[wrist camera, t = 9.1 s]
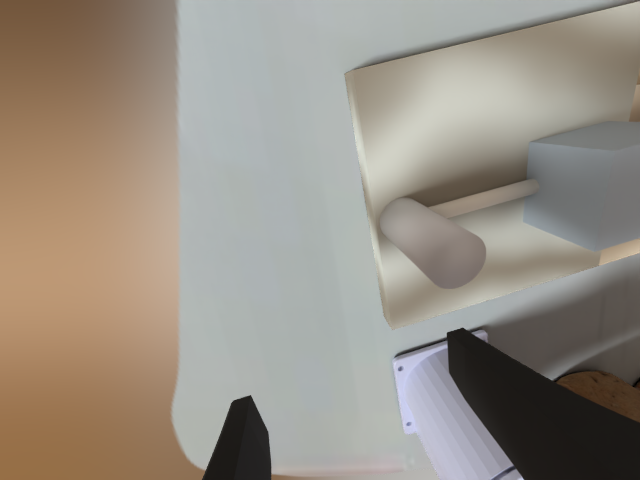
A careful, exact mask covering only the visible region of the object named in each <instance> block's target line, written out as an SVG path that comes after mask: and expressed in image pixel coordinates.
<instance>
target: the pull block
mask: <svg viewBox="0 0 640 480" xmlns="http://www.w3.org/2000/svg"><path fill="white" fill-rule="evenodd" d="M521 197H525V201H524V213H523V222H524V223H526V224H528V225H531V226H533V227H536V228H538V229H540V230H543V231H545V232H548V233H550V234H552V235H555V236H557V237H560V238H562V239H565V240H567V241H569V242H572V243H574V244H577V245H579V246H581V247H584V248H586V249H589V250H591V251H593V252H596V251H599V250H603V249H606V248H609V247H612V246H616V245H619V244H622V243H626V242H629V241H632V240H635V239H639V238H640V122H622V121H606V122H602V123H599V124H595V125H591V126H587V127H584V128H580V129H576V130H572V131H569V132H565V133H561V134H557V135H554V136H550V137H546V138H542V139H539V140H535V141H531V142H529V152H528V164H527V176H526V180H525V181H521V182H517V183H514V184H510V185H507V186H503V187H499V188H496V189H492V190H489V191H485V192H481V193H478V194H474V195H471V196H467V197H463V198H460V199H456V200H453V201H449V202H445V203H442V204H438V205H434V206H431V207H426V206H424V205H422V204H420V203H418V202H417V201H415V200H413V199H411V198H407V197H401V198H397V199H395V200H393V201H391V202H390V203H389V204H388V205H387V206H386V207H385V208H384V209H383V211H382V213H381V216H380V228H381V231H382V232H383V234H384V235H385V236H386V237H387V238H388V239H389V240H390V241H391V242H392V243H393V244H394V245H395V246H396V247H397V248H398V249H399V250H400V251H402V252H403V253H404V254H405V255H406V256H407V257H408V258H409V259H410V260H411V261H412V262H413V263H414V264H415V265H416V266H417V267H418V268H419V269H420V270H421V271H422V272H423V273H424V274H425V275H426V276H427V277H428V278H429V279H430V280H431V281H432V282H433V283H434V284H435V285H437V286H438V287H440V288H444V289H455V288H459V287H461V286H464V285H466V284H467V283H469V282H470V281H472V280H473V279H474V278H475V277H476V276H477V275H478V273H479V272H480V271H481V269H482V267H483V265H484V263H485V260H486V247H485V244H484V242H483V241H482V239H481V238H480V237H478V236H477V235H475V234H473V233H471V232H470V231H468V230H466V229H464V228H463V227H461V226H459V225H457V224H456V223H454V222H452V221H450V220H448V219H447V218H450V217H454V216H457V215H461V214H464V213H468V212H471V211H475V210H478V209H482V208H486V207H489V206H493V205H496V204H500V203H503V202H507V201H510V200H514V199H517V198H521Z"/></svg>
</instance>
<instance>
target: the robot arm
mask: <svg viewBox="0 0 640 480" xmlns="http://www.w3.org/2000/svg"><path fill="white" fill-rule="evenodd" d="M400 366H401V367H400ZM393 369H394V375H395V381H396V387H397V394H398V400H399V406H400V412H401V418H402V425H403V430H404V432H405V434H412V433H415V432H417V434H418V436H419V438H420V440H421V442H422V444H423V446H424V449H425V451H426V453H427V455H428V457H429V459H430V461H431V463H432V465H433V467H434V469H435V471H436V473H437V475H438V477H439V479H440V480H640V422H637V421H635V420H633V419H630V418H628V417H626V416H624V415H621V414H619V413H617V412H615V411H612V410H610V409H608V408H606V407H604V406H602V405H599V404H597V403H595V402H593V401H591V400H589V399H587V398H585V397H583V396H581V395H578V394H576V393H575V392H573V391H571V390H569V389H567V388H565V387H563V386H561V385H559V384H557V383H555V382H553V381H552V380H550V379H548V378H546V377H544V376H542V375H541V374H539V373H537V372H535V371H533V370H532V369H530V368H528V367H527V366H525V365H523V364H521V363H520V362H518V361H516V360H514V359H513V358H511V357H509V356H508V355H506V354H504V353H503V352H501V351H500V350H498V349H496V348H495V347H493V346H491V345H490V344H488V334H487V333H486V332H485V331H484V330H478V331H475V332H472V333H470V332H469V331H467V330H466V329H464V328H460V329H457V330H454V331H451V332H448V333H447V341H444V342H441V343H438V344H435V345H431V346H428V347H425V348H422V349H419V350H416V351H413V352H410V353H406V354H403V355H400V356H397V357H395V358H394V360H393ZM202 480H271V457H270V446H269V435H268V431H267V429H266V426H265V424H264V422H263V420H262V418H261V416H260V414H259V412H258V410H257V407H256V405H255V403H254V401H253V399H252V397H251V395H250V396H246V397H243V398H240V399H237V400H234V401H233V402H232V403H231V406H230V409H229V411H228V414H227V417H226V420H225V423H224V425H223V428H222V431H221V434H220V436H219V439H218V441H217V444H216V447H215V449H214V452H213V454H212V457H211V459H210V462H209V464H208V466H207V469H206V471H205V474H204V476H203V479H202Z"/></svg>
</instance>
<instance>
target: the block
mask: <svg viewBox="0 0 640 480" xmlns="http://www.w3.org/2000/svg"><path fill="white" fill-rule="evenodd" d="M555 383H557V384H559V385H561V386H563V387H565V388H567V389H569V390H571V391H573V392H575V393H576V394H578V395H581V396H583V397H585V398H587V399H589V400H591V401H593V402H595V403H597V404H599V405H602V406H604V407H606V408H608V409H610V410H612V411H615V412H617V413H619V414H621V415H624V416H626V417H628V418H630V419H633V420H635V421H637V422H640V391H639V390H637V389H636V388H634V387H632V386H631V385H629V384H628V383H626V382H624V381H623V380H621V379H620V378H618V377H616V376H614V375H613V374H610V373H607V372H603V371H594V372H590V371H586V372H579V373H574V374H569V375H567V376H564V377H562V378H560V379H559V380H558V381H557V382H555Z"/></svg>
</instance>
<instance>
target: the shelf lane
mask: <svg viewBox="0 0 640 480" xmlns="http://www.w3.org/2000/svg"><path fill="white" fill-rule="evenodd" d="M345 80H346V86H347V92H348V98H349V104H350V110H351V116H352V122H353V129H354V135H355V141H356V147H357V153H358V159H359V165H360V172H361V178H362V184H363V190H364V196H365V202H366V208H367V215H368V221H369V227H370V233H371V239H372V245H373V251H374V257H375V264H376V270H377V276H378V282H379V288H380V294H381V300H382V307H383V313H384V317H385V319H386V321H387V322H388V324H389V326H390V327H391V329H392V330H395V329H398V328H401V327H404V326H408V325H411V324H414V323H417V322H420V321H424V320H427V319H430V318H433V317H436V316H440V315H443V314H446V313H449V312H452V311H456V310H459V309H462V308H465V307H468V306H472V305H475V304H478V303H481V302H484V301H488V300H491V299H494V298H497V297H500V296H504V295H507V294H510V293H513V292H516V291H520V290H523V289H526V288H529V287H532V286H536V285H539V284H542V283H545V282H548V281H552V280H555V279H558V278H561V277H564V276H568V275H571V274H574V273H577V272H580V271H584V270H587V269H590V268H593V267H596V266H600V265H603V264H606V263H609V262H612V261H616V260H619V259H622V258H625V257H628V256H632V255H635V254H638V253H640V238H639V239H635V240H632V241H629V242H626V243H622V244H619V245H616V246H612V247H609V248H606V249H603V250H599V251H596V252H593V251H591V250H589V249H586V248H584V247H581V246H579V245H577V244H574V243H572V242H569V241H567V240H565V239H562V238H560V237H557V236H555V235H552V234H550V233H548V232H545V231H543V230H540V229H538V228H536V227H533V226H531V225H528V224H526V223H524V222H523V213H524V201H525V197H521V198H517V199H514V200H510V201H507V202H503V203H500V204H496V205H493V206H489V207H486V208H482V209H478V210H475V211H471V212H468V213H464V214H461V215H457V216H454V217H450V218H447V219H448V220H450V221H452V222H454V223H456V224H457V225H459V226H461V227H463V228H464V229H466V230H468V231H470V232H471V233H473V234H475V235H477V236H478V237H480V238H481V239H482V241H483V242H484V244H485V247H486V260H485V263H484V265H483V267H482V269H481V271H480V272H479V273H478V275H477V276H476V277H475V278H474V279H473V280H472V281H470V282H469V283H467V284H466V285H464V286H461V287H459V288H455V289H444V288H440V287H438V286H437V285H435V284H434V283H433V282H432V281H431V280H430V279H429V278H428V277H427V276H426V275H425V274H424V273H423V272H422V271H421V270H420V269H419V268H418V267H417V266H416V265H415V264H414V263H413V262H412V261H411V260H410V259H409V258H408V257H407V256H406V255H405V254H404V253H403V252H402V251H400V250H399V249H398V248H397V247H396V246H395V245H394V244H393V243H392V242H391V241H390V240H389V239H388V238H387V237H386V236H385V235H384V234H383V232H382V231H381V228H380V216H381V213H382V211H383V209H384V208H385V207H386V206H387V205H388V204H389V203H390V202H391V201H393V200H395V199H397V198H401V197H407V198H411V199H413V200H415V201H417V202H418V203H420V204H422V205H424V206H426V207H431V206H434V205H438V204H442V203H445V202H449V201H453V200H456V199H460V198H463V197H467V196H471V195H474V194H478V193H481V192H485V191H489V190H492V189H496V188H499V187H503V186H507V185H510V184H514V183H517V182H521V181H525V180H526V176H527V164H528V152H529V142H531V141H535V140H539V139H542V138H546V137H550V136H554V135H557V134H561V133H565V132H569V131H572V130H576V129H580V128H584V127H587V126H591V125H595V124H599V123H602V122H606V121H622V122H640V1H638V2H634V3H630V4H626V5H622V6H617V7H613V8H609V9H605V10H601V11H597V12H592V13H588V14H584V15H580V16H576V17H572V18H567V19H563V20H559V21H555V22H551V23H547V24H542V25H538V26H534V27H530V28H526V29H522V30H517V31H513V32H509V33H505V34H501V35H497V36H492V37H488V38H484V39H480V40H476V41H472V42H467V43H463V44H459V45H455V46H451V47H447V48H442V49H438V50H434V51H430V52H426V53H422V54H417V55H413V56H409V57H405V58H401V59H397V60H392V61H388V62H384V63H380V64H376V65H372V66H367V67H363V68H359V69H355V70H352V71H350V72H347V73H345Z"/></svg>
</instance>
